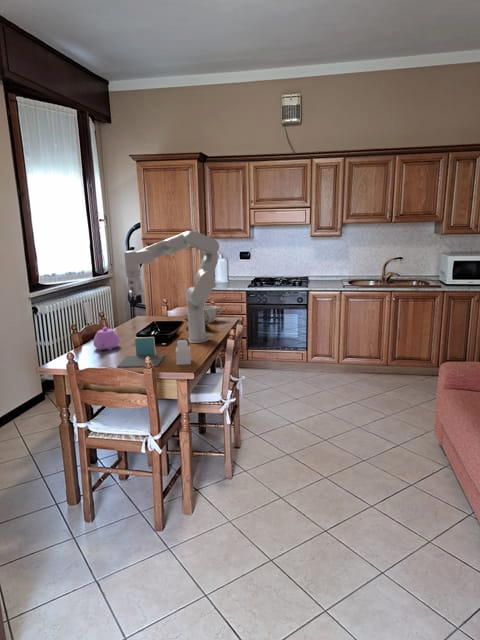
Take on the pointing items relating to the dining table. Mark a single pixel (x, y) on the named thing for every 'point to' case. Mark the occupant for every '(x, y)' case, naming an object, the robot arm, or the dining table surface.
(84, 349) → the dining table surface
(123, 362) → the mat
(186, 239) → the robot arm
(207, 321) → the owl figurine
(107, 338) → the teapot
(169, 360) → the dining table surface
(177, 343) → the medicine bottle
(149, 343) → the tile
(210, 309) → the teacup
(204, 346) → the dining table surface
